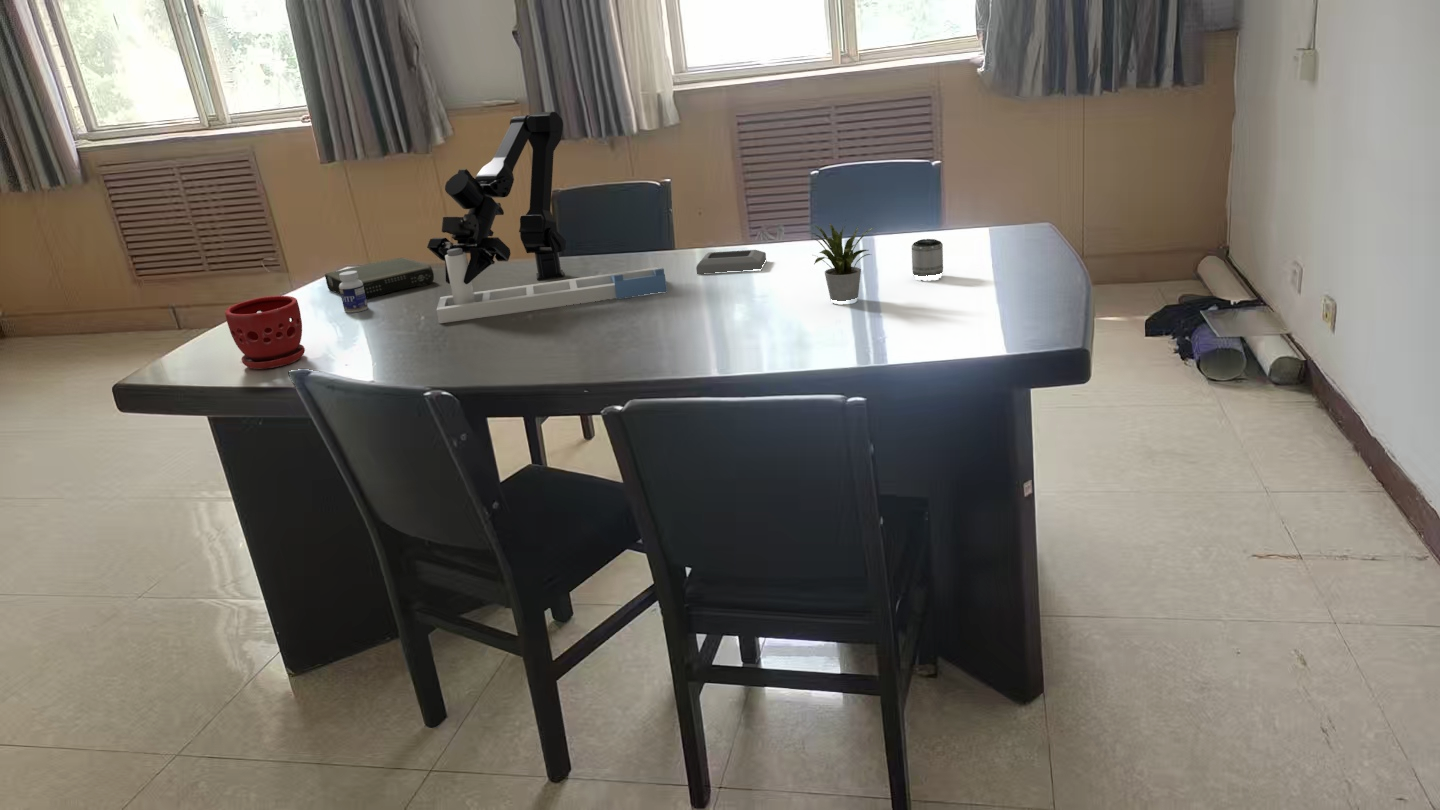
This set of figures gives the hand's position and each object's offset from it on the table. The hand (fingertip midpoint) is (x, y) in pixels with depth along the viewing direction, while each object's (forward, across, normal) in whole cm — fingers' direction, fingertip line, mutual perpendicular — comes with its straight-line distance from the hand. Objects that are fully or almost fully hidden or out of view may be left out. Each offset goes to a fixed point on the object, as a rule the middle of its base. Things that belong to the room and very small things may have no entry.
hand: (456, 283), depth 217 cm
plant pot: (+30, -18, -20) cm, 40 cm away
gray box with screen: (-26, +45, +36) cm, 63 cm away
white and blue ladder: (-4, +15, +14) cm, 21 cm away
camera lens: (-21, +93, +31) cm, 100 cm away
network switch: (-9, -43, +20) cm, 48 cm away
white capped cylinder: (+4, 0, +6) cm, 7 cm away
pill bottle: (+5, -32, +6) cm, 32 cm away
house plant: (-7, +80, +17) cm, 82 cm away
